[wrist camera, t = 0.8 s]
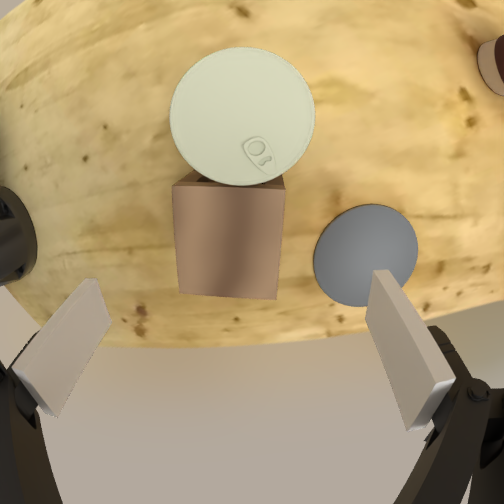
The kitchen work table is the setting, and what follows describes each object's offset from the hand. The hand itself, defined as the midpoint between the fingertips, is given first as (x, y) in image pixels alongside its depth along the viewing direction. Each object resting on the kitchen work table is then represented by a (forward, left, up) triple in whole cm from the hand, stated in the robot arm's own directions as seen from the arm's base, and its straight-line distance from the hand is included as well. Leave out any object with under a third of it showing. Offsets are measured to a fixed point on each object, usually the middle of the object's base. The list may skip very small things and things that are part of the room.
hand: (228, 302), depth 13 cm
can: (0, +8, -19) cm, 21 cm away
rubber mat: (+14, -6, -19) cm, 24 cm away
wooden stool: (-1, -1, -19) cm, 19 cm away
